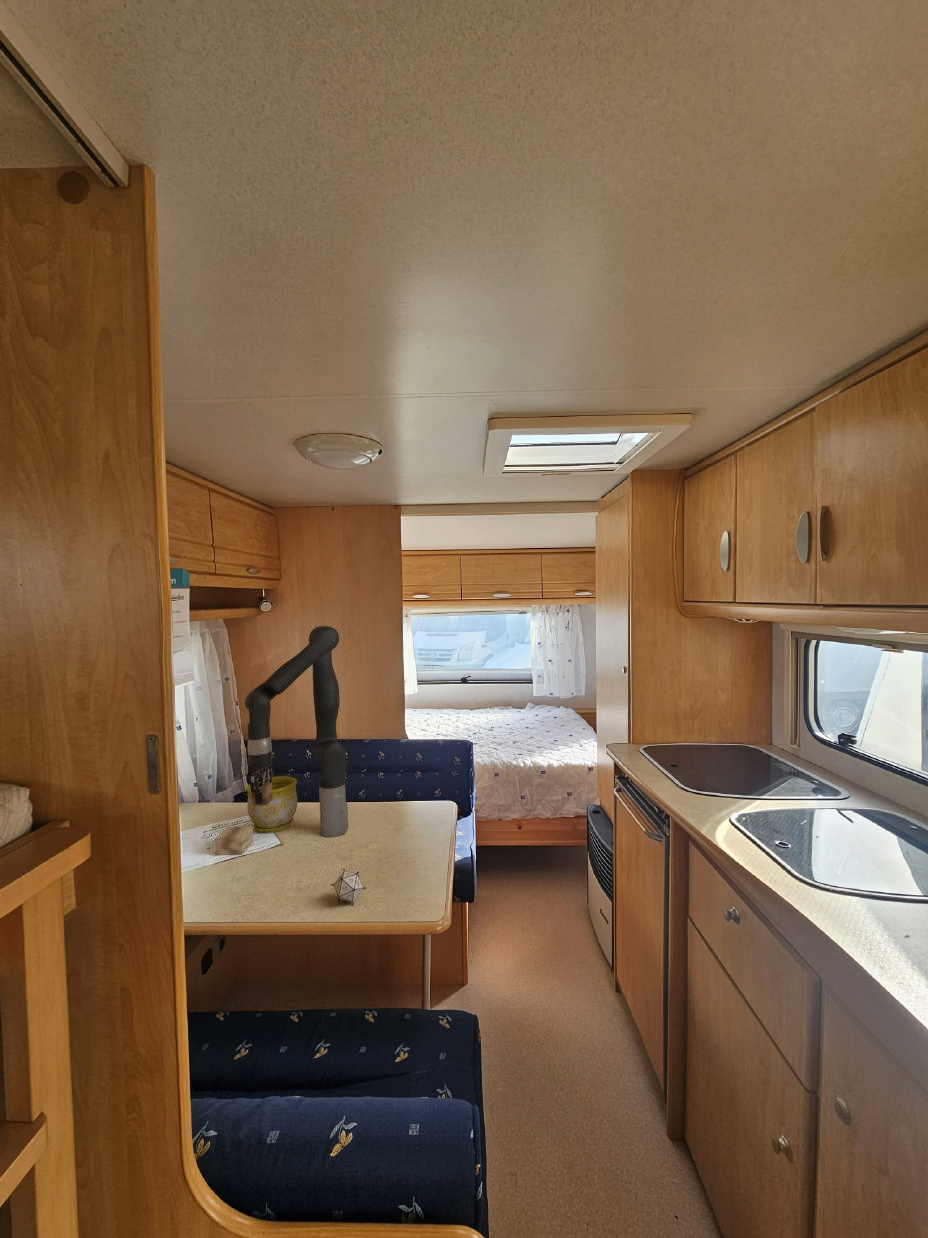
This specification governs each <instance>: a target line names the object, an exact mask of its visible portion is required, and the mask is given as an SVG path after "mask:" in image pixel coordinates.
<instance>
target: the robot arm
mask: <svg viewBox="0 0 928 1238" xmlns="http://www.w3.org/2000/svg"><path fill="white" fill-rule="evenodd" d="M339 643H340V634H339V632H338V630H336V628H334V627H333V626H328V625H322V626H321V625H319V626H316V627H314V628H312V630H311V631H310V633H309V635H308V644H307V645H306V646H305V647H304V648H303V649H302V650H301V651H300V652H298V653H297V654H296V655H294V656H293V657H292V658H290V659H289V660H287V661H286V662H284V663H283V664H282V665H281V666H280V667H278V669H276V670H275V671H274V672H273V673H272V674H271V675H270V676H269V677H268V678H267V679H266V680H264V681H263V682H262V683H261V684H259V685H258V686H257V687H255V688H254V689H253V690H252V691H250V692H249V693H248V695H246V697H245V699H244V706H245V708H246V709H247V710H248V715H249V716H248V720H249V722H248V724H247V755H248V756H247V757H248V758H247V759H248V766H249V768H252V770H253V771H252V775H251V776H248V782H249V784H250V788H251V793H255V803H256V804H262V803H263V799H262V787H263V785H264V783H271V782H272V777H273V765H272V763H273V750H272V749H273V748H272V745H273V744H272V739H271V729H270V727H271V726H270V719H271V711H272V709H271V701H272V700H273V699H274V698H275V697H277V696H279V695H282V693H284V692H285V691H286V690H287V689H289V687H290V686H291V685H292V684H293V683H295V681H296V680H297V679H299V677H300V676H301V675H302V674H304V672H306V671H307V670H308V669H309V668H311V666H312V690H313V691H312V692H313V693H312V695H313V697H312V698H313V707H314V717H315V719H314V720H315V725H316V727H315V728H316V731H315V733H316V735H315V756H316V759H317V760H318V762H319V763H320V777H319V778H318V792H319V795H318V797H319V816H320V817H319V818H320V819H319V820H320V835H322V836H323V837H325V838H326V837H328V838H332V837H338V836H343V835H345V834H346V833H347V831H348V830H349V818H348V817H349V811H348V802H346V777H347V753H346V748H345V747H344V745H342V744H341V743H340V742H339V741H338V736H337V735H338V734H337V719H338V715H339V711H340V701H341V700H340V688H339V682H338V678H337V675H336V673H335V669H334V666H333V658H332V657H333V656H332V655H333V654H332V653H333V649H336V648H337V646H338V645H339ZM259 782H261V783H259ZM259 786H260V788H259Z"/></svg>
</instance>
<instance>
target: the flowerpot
mask: <svg viewBox="0 0 928 1238" xmlns="http://www.w3.org/2000/svg"><path fill="white" fill-rule="evenodd" d="M259 783H261V782H259ZM271 783H272V796H273V800H272V801H271V802H270V803H269V804H268V805H260V806H252V794H251V788H250V783H249V784H248V785H247V786H246V791H247V815H248V817H249V820H250V821H251V822H252V823H253V826H252V827H253V830H255V831H256V832H258V833H261V834H270V833H271V834H272V833H276V832H281V831H283V830H286V829H288V828H289V827H290V826H291V825H292V823H293V822H294V818H293V817H294V816H295V814H296V811H297V808H298V795H297V791H296V790H297V786H296V785H297V783H298V781H297V779H296V778H295V777H293V776H292V777H291V776H283V775H281V776H272V782H271Z"/></svg>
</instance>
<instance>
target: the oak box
mask: <svg viewBox="0 0 928 1238" xmlns="http://www.w3.org/2000/svg"><path fill="white" fill-rule="evenodd" d="M253 844H254V827H253V826H236V827H235V826H231V827H226V829H224V830H223V831H222V832H220V833H219V834H218V835H217V836H216V837H215V838H214V849H215V851H214V852H215V856H217V857H218V856H220V857H221V856H242V855H243V854H244V853H246V852H247V850H248V849H249V848H251V847H252V845H253Z"/></svg>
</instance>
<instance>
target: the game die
mask: <svg viewBox="0 0 928 1238" xmlns="http://www.w3.org/2000/svg"><path fill="white" fill-rule="evenodd" d="M342 870H343V872H342V873H341V874H340V876H339V877H338V878H337V879H336V880H335V882H334V883H330V884H329V885H330V886H331V887H332V886H333V888H334V890H335V892H336V895H337V897H336V900H337V902H340V901H345V902H350V903H351V905H352V906H354V905H355V904H354V901H355V900H356V899H357V897H358V896H359V895H360V894H361V892H362V891H363V890H366V889H367V887H365V886H363V883H362V881H361V878H360V874H359V873H360V871H359V870H358V871H357V872H351V871H346V868H344V867H343V868H342Z"/></svg>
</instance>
